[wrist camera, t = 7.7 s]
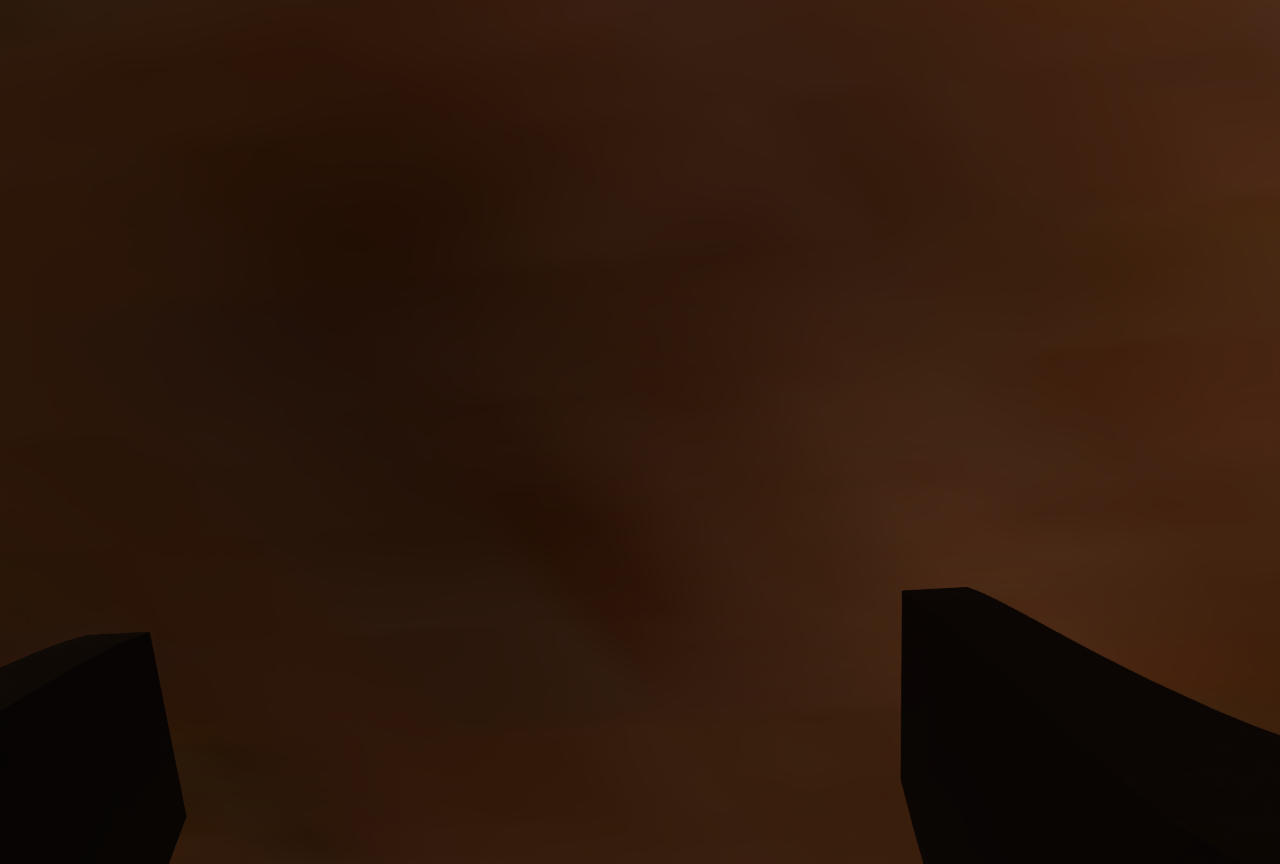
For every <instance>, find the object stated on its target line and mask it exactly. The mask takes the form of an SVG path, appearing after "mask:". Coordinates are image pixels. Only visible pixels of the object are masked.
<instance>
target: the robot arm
mask: <svg viewBox="0 0 1280 864" xmlns="http://www.w3.org/2000/svg"><path fill="white" fill-rule="evenodd" d="M901 782H902V786H903V790H904V794H905V798H906V802H907V805H908V809H909V813H910V817H911V821H912V825H913V829H914V832H915V836H916V839H917V843H918V846H919V850H920V853H921V857H922V860H923V864H1280V735H1278V734H1275V733H1272V732H1269V731H1267V730H1264V729H1261V728H1258V727H1256V726H1253V725H1251V724H1248V723H1246V722H1243V721H1241V720H1238V719H1236V718H1234V717H1231V716H1229V715H1226V714H1224V713H1221V712H1219V711H1217V710H1214V709H1212V708H1210V707H1208V706H1206V705H1203V704H1201V703H1199V702H1197V701H1195V700H1192V699H1190V698H1188V697H1186V696H1184V695H1181V694H1179V693H1177V692H1175V691H1173V690H1170V689H1168V688H1166V687H1164V686H1162V685H1160V684H1157V683H1155V682H1153V681H1151V680H1149V679H1147V678H1145V677H1143V676H1141V675H1139V674H1137V673H1135V672H1133V671H1131V670H1129V669H1127V668H1125V667H1123V666H1121V665H1119V664H1117V663H1115V662H1113V661H1111V660H1109V659H1107V658H1105V657H1103V656H1101V655H1099V654H1097V653H1095V652H1094V651H1092V650H1090V649H1088V648H1086V647H1084V646H1082V645H1080V644H1078V643H1076V642H1075V641H1073V640H1071V639H1069V638H1067V637H1065V636H1063V635H1062V634H1060V633H1058V632H1056V631H1054V630H1052V629H1051V628H1049V627H1047V626H1045V625H1043V624H1041V623H1039V622H1038V621H1036V620H1034V619H1032V618H1030V617H1028V616H1027V615H1025V614H1023V613H1021V612H1019V611H1017V610H1015V609H1014V608H1012V607H1010V606H1008V605H1006V604H1004V603H1002V602H1000V601H998V600H996V599H994V598H992V597H990V596H988V595H986V594H983V593H981V592H979V591H976V590H974V589H971V588H968V587H959V588H940V589H922V590H904V591H902V666H901ZM185 819H186V812H185V807H184V802H183V797H182V792H181V787H180V782H179V777H178V772H177V767H176V762H175V757H174V752H173V747H172V742H171V737H170V732H169V727H168V722H167V717H166V712H165V707H164V702H163V697H162V692H161V687H160V682H159V677H158V672H157V666H156V661H155V656H154V651H153V646H152V641H151V636H150V632H136V633H118V634H100V635H86V636H82V637H79V638H75V639H72V640H69V641H65V642H62V643H60V644H57V645H54V646H51V647H49V648H46V649H44V650H41V651H38V652H36V653H34V654H31V655H29V656H26V657H24V658H22V659H19V660H17V661H15V662H12V663H10V664H8V665H6V666H3V667H1V668H0V864H169V862H170V859H171V856H172V854H173V851H174V848H175V846H176V843H177V840H178V838H179V835H180V832H181V830H182V827H183V824H184V822H185Z"/></svg>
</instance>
